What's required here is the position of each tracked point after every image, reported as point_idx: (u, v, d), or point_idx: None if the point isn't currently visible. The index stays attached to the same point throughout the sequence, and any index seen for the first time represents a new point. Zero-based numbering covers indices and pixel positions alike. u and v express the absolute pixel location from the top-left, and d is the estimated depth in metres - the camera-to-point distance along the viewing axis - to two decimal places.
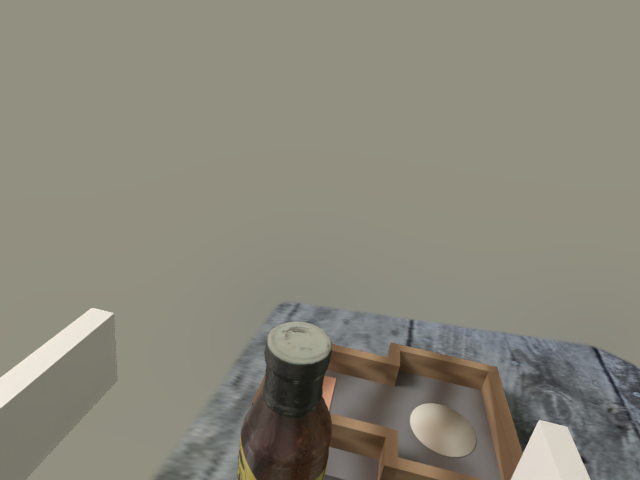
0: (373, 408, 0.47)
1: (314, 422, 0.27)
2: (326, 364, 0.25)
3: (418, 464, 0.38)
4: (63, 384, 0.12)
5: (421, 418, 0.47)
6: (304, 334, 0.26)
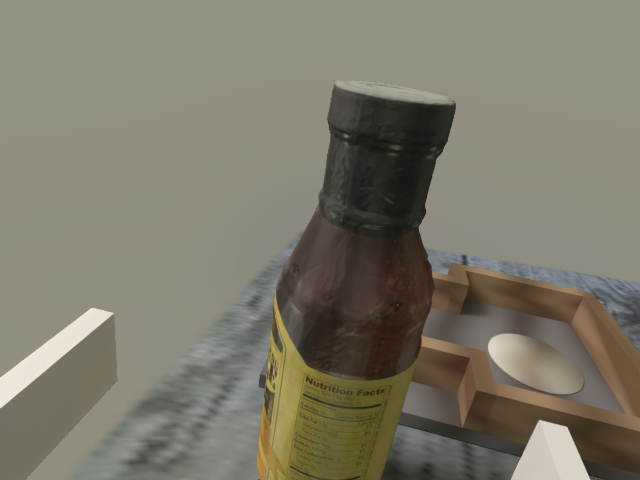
0: (437, 335, 0.35)
1: (413, 256, 0.15)
2: (449, 125, 0.13)
3: (525, 391, 0.26)
4: (63, 384, 0.12)
5: (502, 348, 0.34)
6: (400, 89, 0.14)
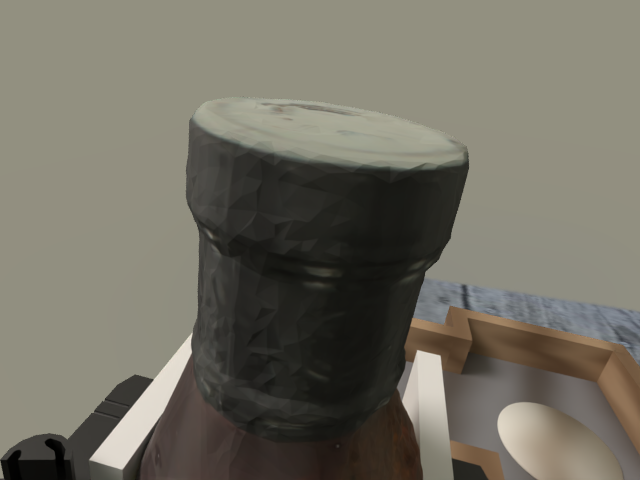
0: None
1: (379, 457, 0.07)
2: (454, 207, 0.06)
3: None
4: None
5: (516, 427, 0.27)
6: (350, 116, 0.07)
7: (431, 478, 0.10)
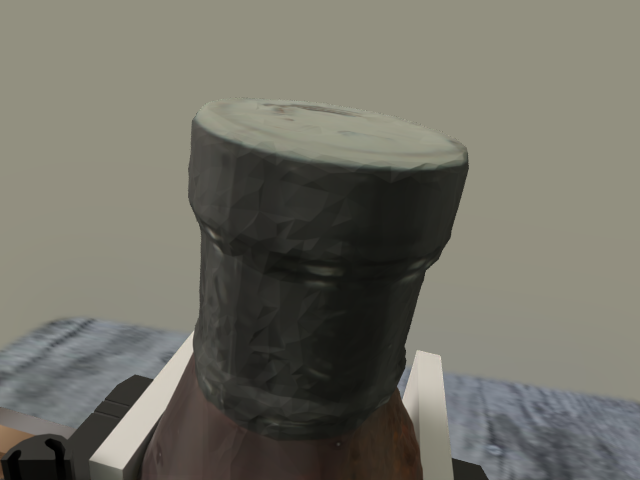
0: None
1: (380, 455, 0.07)
2: (454, 208, 0.06)
3: None
4: None
5: None
6: (351, 117, 0.07)
7: (431, 478, 0.10)
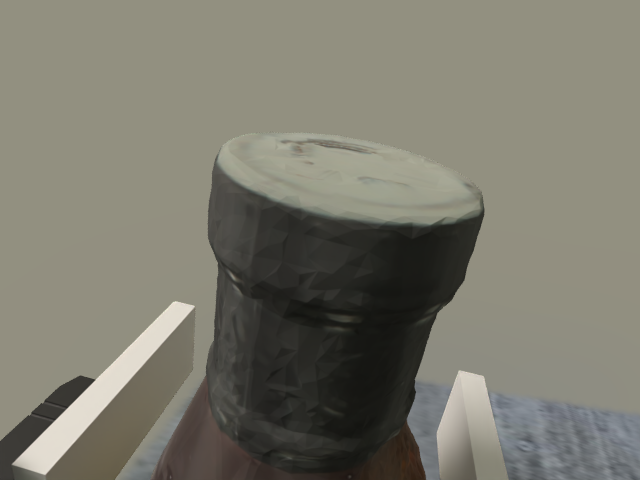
0: None
1: None
2: (470, 254, 0.06)
3: None
4: (159, 370, 0.13)
5: None
6: (367, 154, 0.07)
7: None
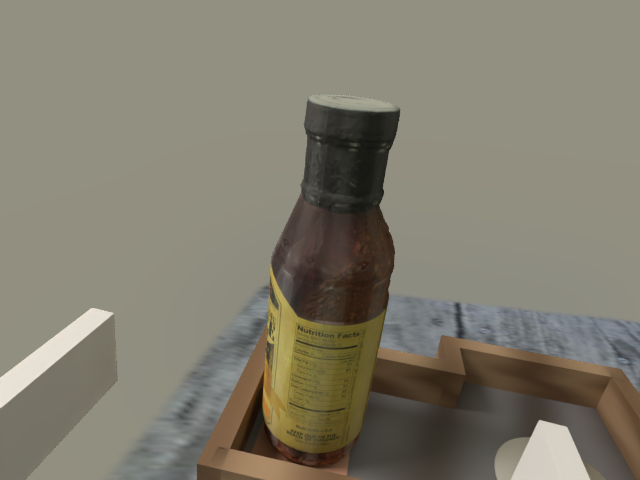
0: (426, 453, 0.26)
1: (375, 227, 0.19)
2: (394, 126, 0.18)
3: None
4: (63, 384, 0.12)
5: (514, 468, 0.26)
6: (358, 99, 0.19)
7: None
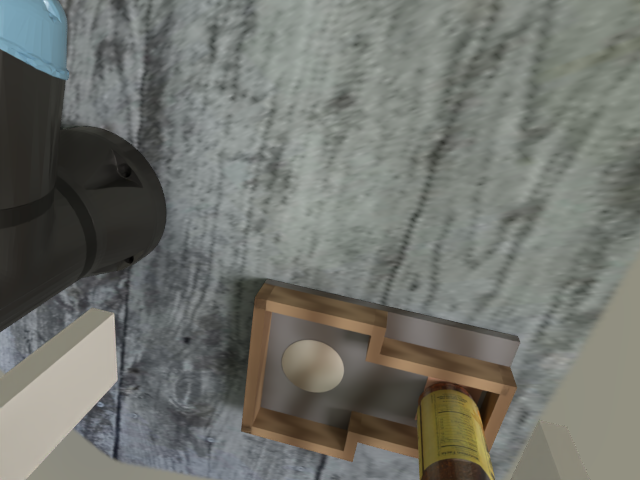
0: (379, 386, 0.47)
1: None
2: None
3: (353, 329, 0.41)
4: (63, 384, 0.12)
5: (331, 376, 0.47)
6: None
7: None
